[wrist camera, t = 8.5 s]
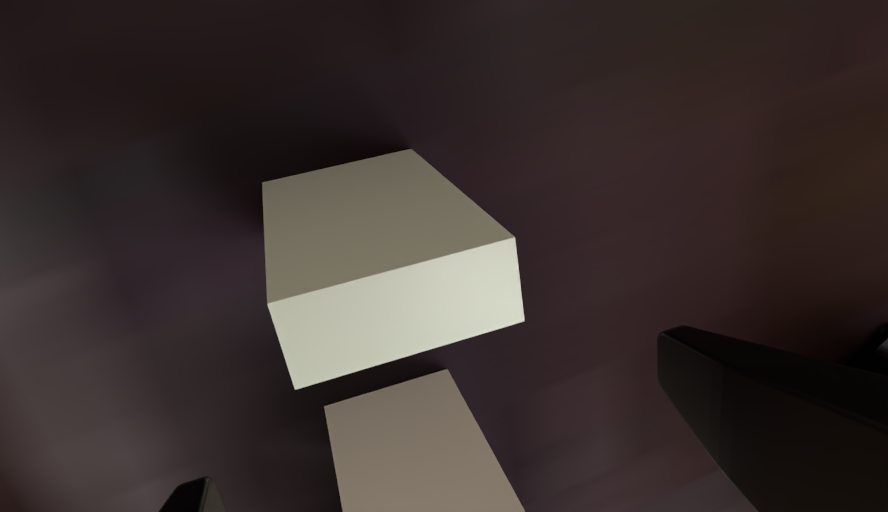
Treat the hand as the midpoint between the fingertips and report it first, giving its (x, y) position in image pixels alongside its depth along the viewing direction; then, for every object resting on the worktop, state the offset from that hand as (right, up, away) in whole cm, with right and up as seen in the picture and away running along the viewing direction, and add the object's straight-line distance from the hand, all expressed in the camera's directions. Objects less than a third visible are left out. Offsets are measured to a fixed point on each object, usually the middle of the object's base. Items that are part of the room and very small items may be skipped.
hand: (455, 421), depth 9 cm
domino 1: (-4, +5, +11) cm, 13 cm away
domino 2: (-2, -4, +15) cm, 15 cm away
